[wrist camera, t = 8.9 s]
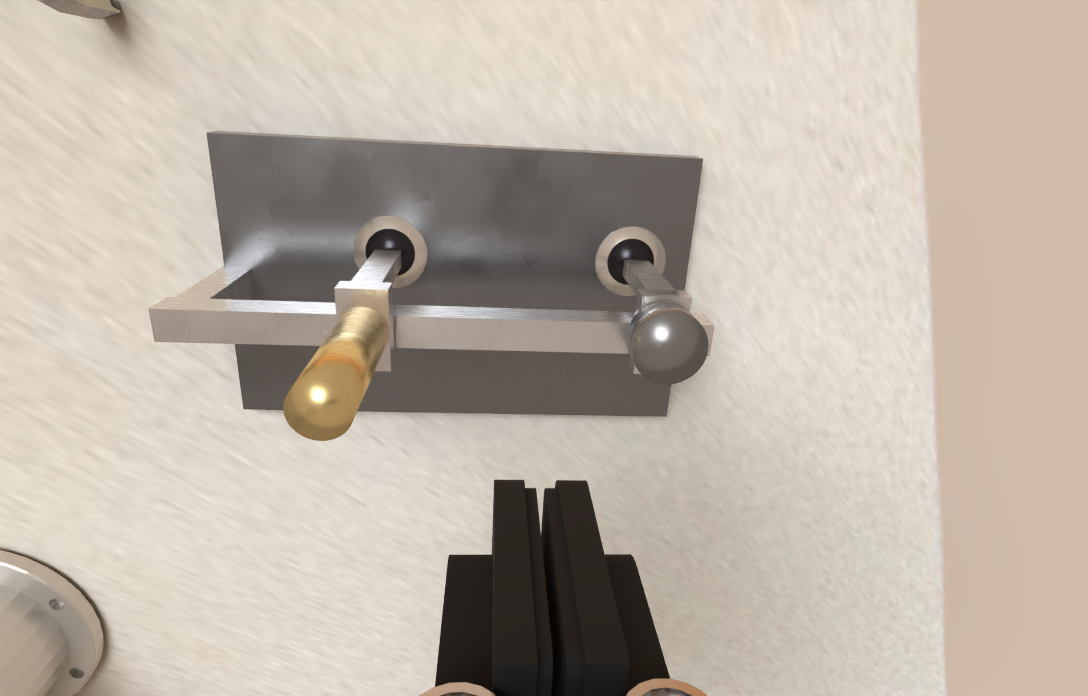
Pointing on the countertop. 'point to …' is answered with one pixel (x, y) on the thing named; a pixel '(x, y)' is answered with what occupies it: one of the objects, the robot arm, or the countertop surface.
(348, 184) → the hole plate
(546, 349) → the divider frame
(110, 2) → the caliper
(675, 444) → the countertop surface
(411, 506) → the countertop surface
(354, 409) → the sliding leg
